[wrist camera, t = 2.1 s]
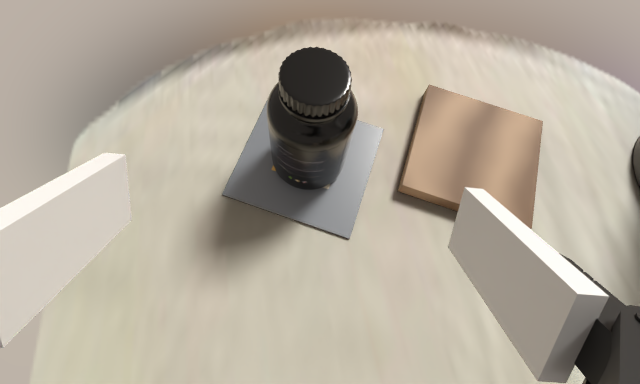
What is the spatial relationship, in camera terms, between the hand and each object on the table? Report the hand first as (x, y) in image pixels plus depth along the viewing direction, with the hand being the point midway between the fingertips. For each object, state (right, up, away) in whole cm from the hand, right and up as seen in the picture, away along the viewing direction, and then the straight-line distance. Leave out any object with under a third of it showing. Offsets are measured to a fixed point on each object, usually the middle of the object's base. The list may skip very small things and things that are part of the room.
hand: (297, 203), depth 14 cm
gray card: (0, +3, +20) cm, 21 cm away
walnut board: (+16, +4, +22) cm, 27 cm away
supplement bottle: (0, +3, +20) cm, 21 cm away
